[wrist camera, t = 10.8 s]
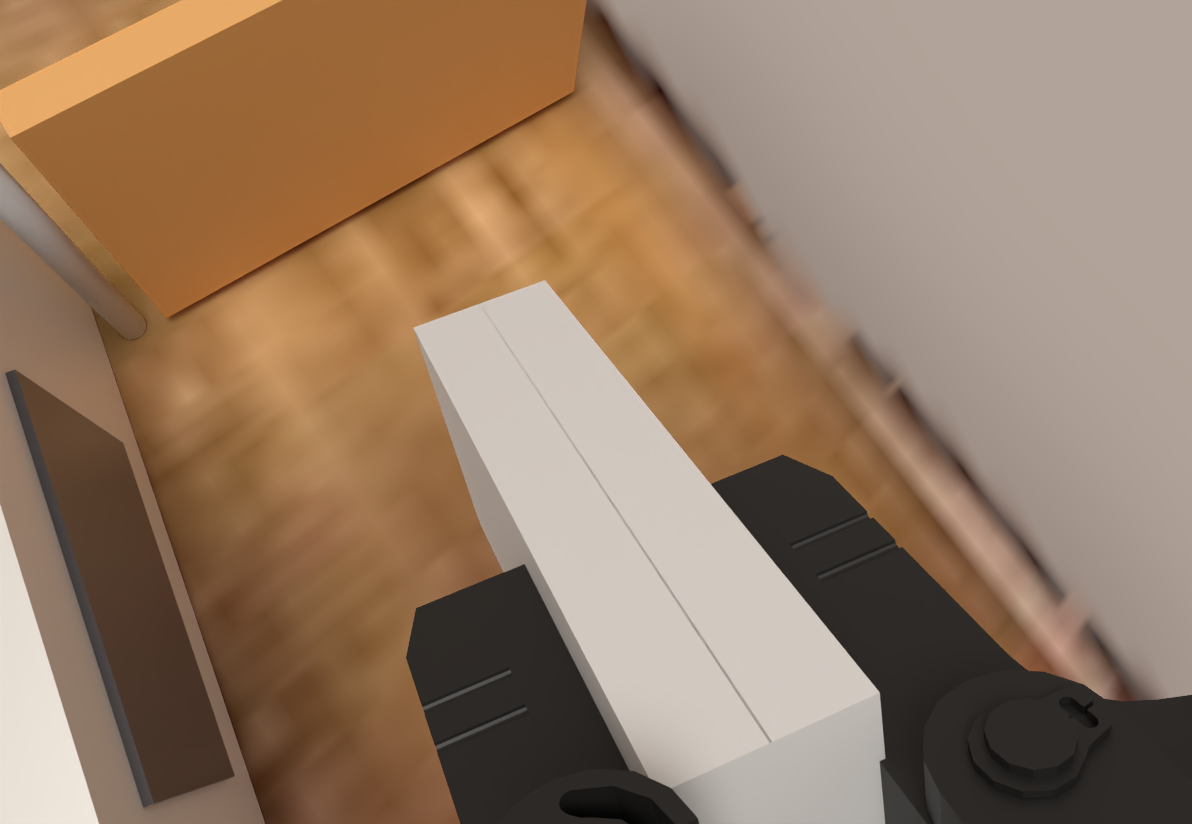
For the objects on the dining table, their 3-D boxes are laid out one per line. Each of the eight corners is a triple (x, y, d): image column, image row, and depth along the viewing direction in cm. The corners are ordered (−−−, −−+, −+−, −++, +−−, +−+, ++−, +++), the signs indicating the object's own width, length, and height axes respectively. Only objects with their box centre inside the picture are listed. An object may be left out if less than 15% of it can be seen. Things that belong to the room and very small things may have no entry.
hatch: (166, 317, 33) (10, 138, 22) (125, 251, 33) (-49, 41, 22) (573, 91, 35) (609, -166, 25) (531, 32, 36) (549, -247, 25)
